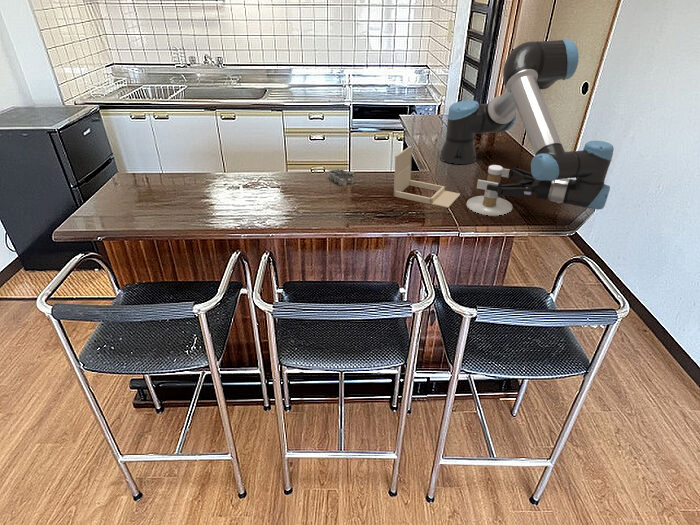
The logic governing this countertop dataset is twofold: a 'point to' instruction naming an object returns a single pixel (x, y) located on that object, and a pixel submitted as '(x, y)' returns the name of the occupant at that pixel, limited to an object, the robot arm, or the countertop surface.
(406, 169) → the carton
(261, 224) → the countertop surface
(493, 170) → the spice jar
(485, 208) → the stone mat
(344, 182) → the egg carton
